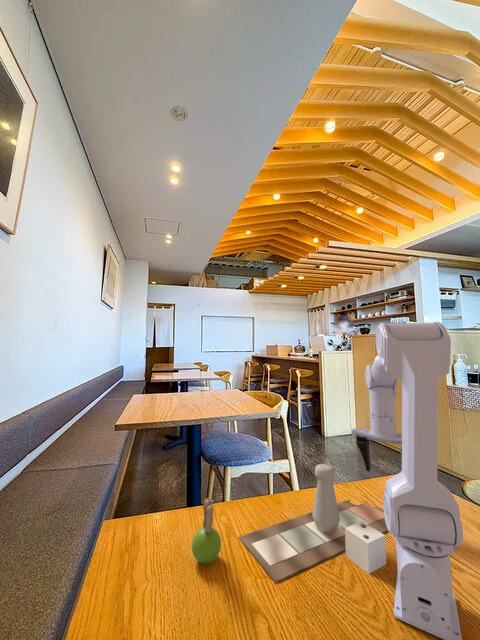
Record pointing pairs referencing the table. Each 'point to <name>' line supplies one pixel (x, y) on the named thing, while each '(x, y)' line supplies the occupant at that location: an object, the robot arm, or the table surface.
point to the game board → (306, 540)
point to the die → (365, 546)
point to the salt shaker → (325, 501)
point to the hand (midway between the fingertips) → (385, 473)
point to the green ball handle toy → (206, 537)
